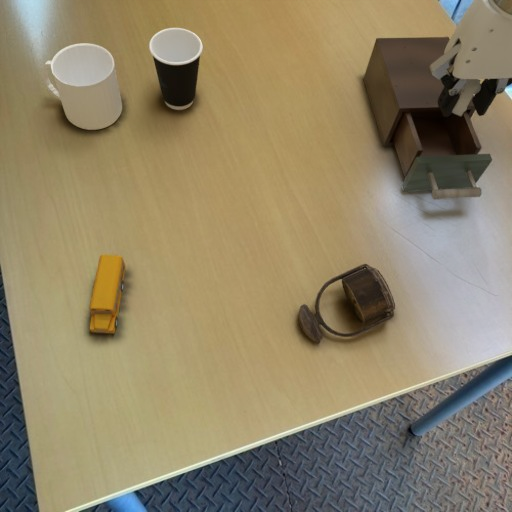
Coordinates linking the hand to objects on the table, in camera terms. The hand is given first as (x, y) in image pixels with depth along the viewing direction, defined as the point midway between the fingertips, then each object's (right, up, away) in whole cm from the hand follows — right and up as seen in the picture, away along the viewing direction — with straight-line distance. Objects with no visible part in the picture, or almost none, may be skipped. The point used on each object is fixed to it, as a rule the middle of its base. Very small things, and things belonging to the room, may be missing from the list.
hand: (460, 107), depth 77 cm
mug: (-56, +3, +12) cm, 58 cm away
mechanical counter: (-17, -28, -2) cm, 33 cm away
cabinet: (-3, +4, +17) cm, 18 cm away
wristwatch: (0, 0, 0) cm, 1 cm away
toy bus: (-48, -27, -4) cm, 55 cm away
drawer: (-1, -6, +11) cm, 12 cm away
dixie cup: (-42, +5, +14) cm, 44 cm away
